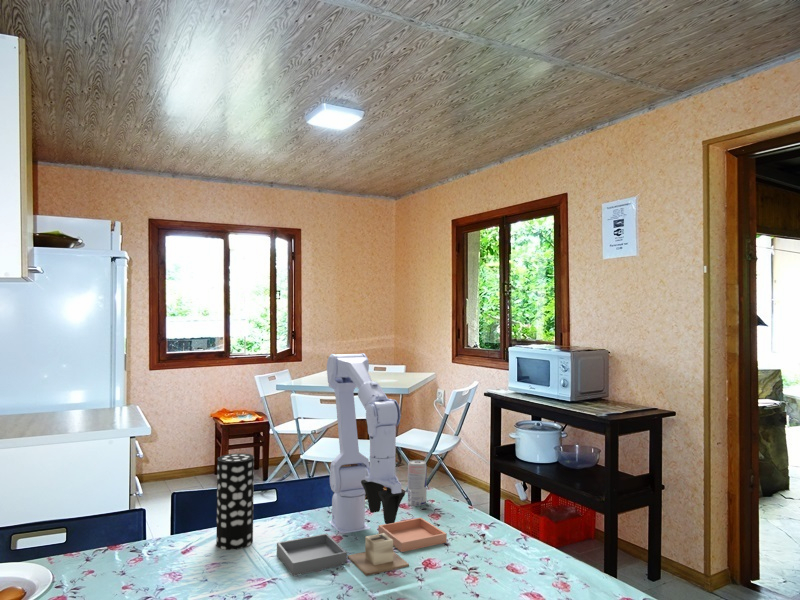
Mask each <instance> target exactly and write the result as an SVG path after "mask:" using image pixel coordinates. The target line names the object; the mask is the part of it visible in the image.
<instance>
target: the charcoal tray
mask: <svg viewBox="0 0 800 600" xmlns="http://www.w3.org/2000/svg"><path fill="white" fill-rule="evenodd" d="M347 555H348V552H347V551H346V550H345V549H344V548H343V547H342V546H341V545H340V544H339V543H338V542H337V541H336V540H335V539H334V538H333V537H332V536H331V535H329V534H328V533H323V534H318V535H311V536H306V537H301V538H296V539H295V538H294V539H291V540H284V541H279V542H276V556H278V558H279V560H280V561H281V562H282V564H283V565H284V566H285V567H286V569H287V570H288V571H289V573H290V574H291V575H292V576H293V577H295V576H299V575H304V574H309V573H314V572H318V571H323V570H327V569H331V568H332V569H333V568H336V567H340V566H345V564H344V563H347V561H348V558H347Z"/></svg>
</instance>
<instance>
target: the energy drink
mask: <svg viewBox="0 0 800 600" xmlns="http://www.w3.org/2000/svg"><path fill="white" fill-rule="evenodd" d="M427 469H428V468H427V461H425V460H423V459H422V460H421V459H413V460H409V461H408V464H407V504H408V506H410V507H414V506H418V507H419V506H424V505H427V492H428V491H427V485H428V484H427V473H428V472H427V471H428V470H427Z"/></svg>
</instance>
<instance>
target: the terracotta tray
mask: <svg viewBox="0 0 800 600" xmlns="http://www.w3.org/2000/svg"><path fill="white" fill-rule="evenodd" d="M381 533H385V534H386V535H387V536H388V537H390V538H391V539H392V540H393V547H394V548H395V549H397V550H399V551H400V552H401V553H403V552H404V553H405V552H409V551H413V550H418V549H421V548H426V547H427V548H428V547H430V546H431V547H432V546H436V545H442V544H445V543H447V533H446V532H445V531H443V530H442V529H440V528H438V527H437V526H436V525H433V524H432V523H431V522H429V521H427V520H426V519H424V518H423V517H416V518H411V519H406V520H400V521H395V523H391V524H379V525H378V534H381Z"/></svg>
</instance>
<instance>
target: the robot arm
mask: <svg viewBox="0 0 800 600" xmlns="http://www.w3.org/2000/svg"><path fill="white" fill-rule="evenodd" d="M369 370H370V362H369V358H368V356H367V354H365V353H364V352H362V353H344V354H343V353H342V354H341V353H339V354H335V353H331V354H330V355H329V356H328V358H327V363H326V375H327V377H326V378H327V383H328V387H329V388H331V389H333V390H334V396H335V406H336V419H337V432H338V444H339V454H338V455H337V456H336V457H335V458H333V459H332V461H331V463H330V465H329V467H330V471H329V487H330V488H331V491H332V492H333V494H332V497H331V498H332V499H331V520H328V523H329V524H330V525H331V526H332V527H334V529H336V531H338V532H339V533H340V534H342V535H343V534H344V535H346V534H349V533H350V534H351V533H354V532H359V531H365V530H366V531H367V530H370V529H371V528H372V527H370V526H369V525H368V524H367V523H366V500H367V505H368V508H369V512H370V513H372V514H373V513H378V512H380V511H381V506H382V510H383V511H382V512H383V513H382V514H383V521H384V523H385V524H391V523H395V522H396V519H397V515H398V510H399V508H400V505H401V503H402V500H403V499H404V497H405V495H406V491H405V490H404V489H402V484H403V483H401V482H400V481H399V478H398V477H397V475H396V474H397V473H396V450H397V448H396V447H397V446H396V445H397V443H396V438H397V436H396V434H397V431H396V430H397V428H396V427H398V426H399V424H400V423H401V409H400V408H401V407H400V405H399V402H398V401H397V400H396V399H392V398H388V396H387V395H386V393H385V391H384V390H383V388H382V387H381V385H380V384H379V383H378V382H377V381H373V379H372V378H371V376H370V373H369ZM356 388H357V389H358V391H357V397H358V399H359V400H360V402H361V404H362V406H363V408H364V409H365V420H366V424H367V434H368V435H369V458H368V457H366V456H365V455H363V454H362V453H361V452H360V451H359V450H360V449H359V437H358V428H357V416H356V404H355V395H354V394H355V393H354V392H355V389H356ZM345 465H348V466H345ZM349 465H350V466H349ZM384 487H385V488H386V490H385V489H384Z"/></svg>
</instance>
